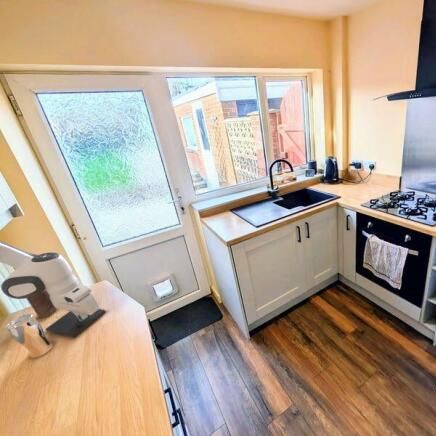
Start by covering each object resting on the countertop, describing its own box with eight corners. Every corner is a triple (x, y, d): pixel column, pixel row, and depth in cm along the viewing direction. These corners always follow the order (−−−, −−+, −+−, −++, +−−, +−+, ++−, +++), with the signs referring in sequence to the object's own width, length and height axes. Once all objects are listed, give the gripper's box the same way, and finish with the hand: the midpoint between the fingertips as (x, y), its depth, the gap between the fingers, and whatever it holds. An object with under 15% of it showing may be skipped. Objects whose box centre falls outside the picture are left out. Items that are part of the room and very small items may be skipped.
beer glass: (35, 346, 92) (12, 317, 86) (58, 339, 94) (37, 310, 88) (25, 362, 86) (-1, 332, 80) (49, 354, 88) (25, 324, 82)
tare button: (78, 323, 99) (76, 320, 98) (85, 317, 101) (84, 314, 101) (83, 324, 98) (81, 321, 97) (91, 318, 100) (89, 315, 100)
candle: (54, 304, 114) (31, 268, 105) (64, 306, 111) (41, 270, 103) (35, 316, 107) (8, 280, 99) (45, 319, 105) (19, 282, 97)
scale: (46, 331, 99) (42, 326, 97) (79, 307, 110) (76, 302, 108) (75, 338, 94) (71, 332, 93) (106, 312, 105) (103, 307, 104)
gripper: (38, 293, 93) (57, 320, 99) (76, 300, 87) (93, 327, 93) (57, 282, 99) (73, 308, 105) (93, 288, 93) (108, 315, 99)
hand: (83, 317), depth 99 cm, fingers closed, pressing on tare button
